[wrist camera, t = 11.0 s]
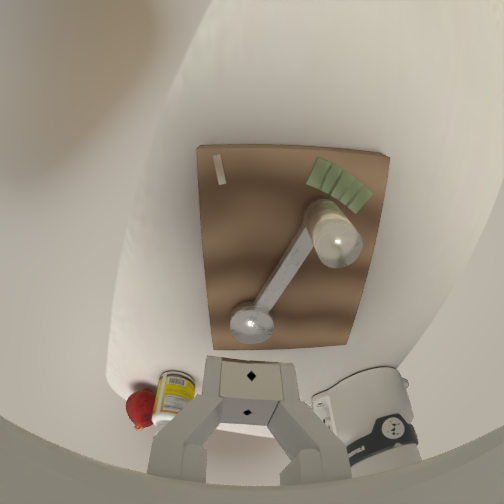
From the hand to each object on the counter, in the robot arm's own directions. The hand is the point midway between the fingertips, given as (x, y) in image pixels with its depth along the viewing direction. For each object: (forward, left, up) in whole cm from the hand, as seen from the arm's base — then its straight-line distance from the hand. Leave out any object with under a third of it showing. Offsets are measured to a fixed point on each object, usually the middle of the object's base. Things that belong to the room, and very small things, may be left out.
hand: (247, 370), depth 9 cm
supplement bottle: (-28, +10, -19) cm, 36 cm away
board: (-7, -4, -19) cm, 20 cm away
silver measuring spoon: (-7, -3, -16) cm, 18 cm away
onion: (-32, +16, -19) cm, 41 cm away
